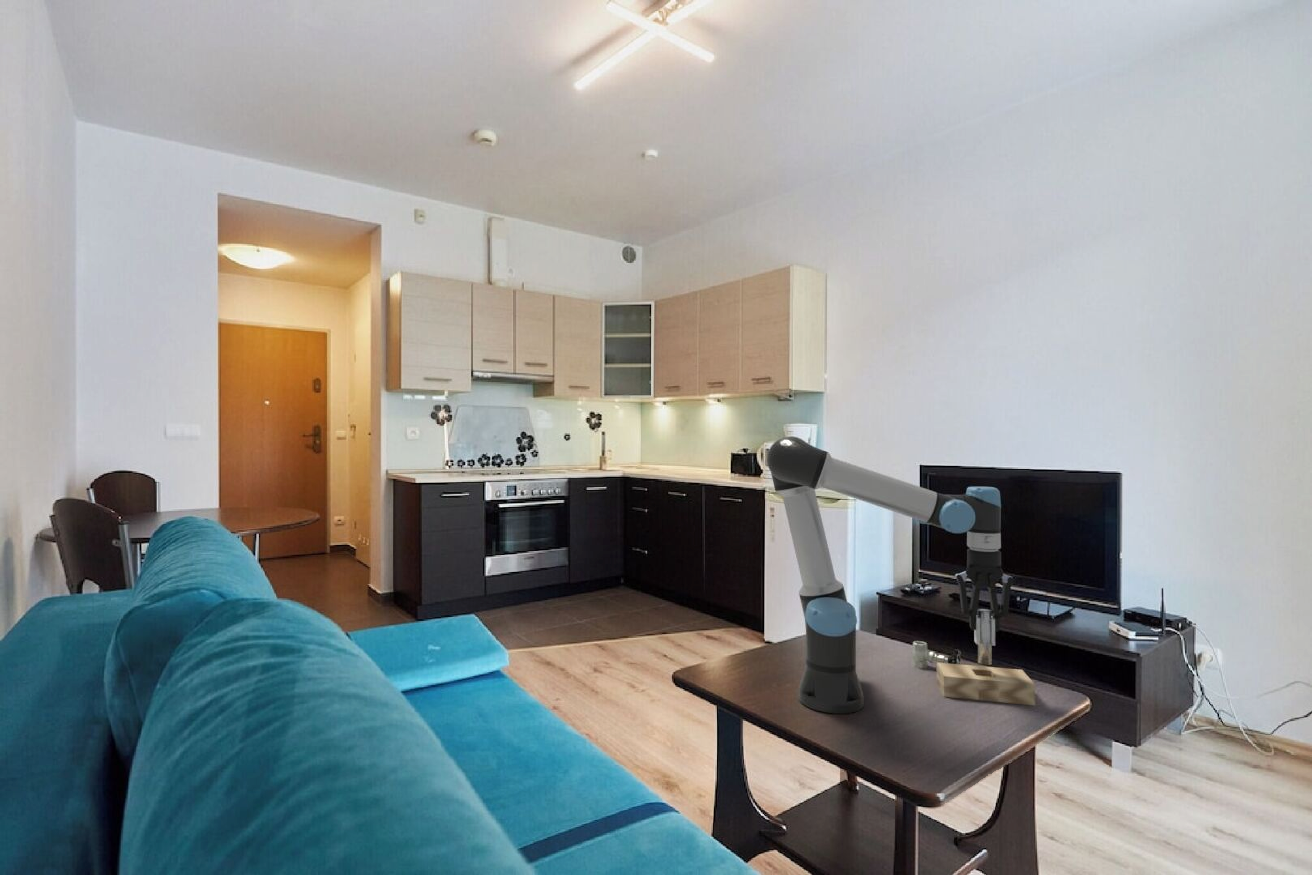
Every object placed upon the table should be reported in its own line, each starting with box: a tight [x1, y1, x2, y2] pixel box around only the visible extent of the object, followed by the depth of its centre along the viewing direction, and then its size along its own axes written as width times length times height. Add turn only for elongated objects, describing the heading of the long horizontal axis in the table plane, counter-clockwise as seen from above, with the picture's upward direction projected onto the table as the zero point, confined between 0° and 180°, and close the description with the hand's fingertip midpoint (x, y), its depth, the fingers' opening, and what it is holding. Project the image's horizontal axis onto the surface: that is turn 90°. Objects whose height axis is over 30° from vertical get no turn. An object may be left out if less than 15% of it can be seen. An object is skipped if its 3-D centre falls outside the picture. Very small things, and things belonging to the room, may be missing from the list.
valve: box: [911, 640, 962, 669], centre depth 174 cm, size 7×7×12 cm
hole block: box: [936, 662, 1036, 706], centre depth 158 cm, size 20×10×5 cm, turn 75°
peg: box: [977, 608, 993, 666], centre depth 158 cm, size 3×3×13 cm
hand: (984, 643), depth 158 cm, fingers closed on peg, 3 cm apart
